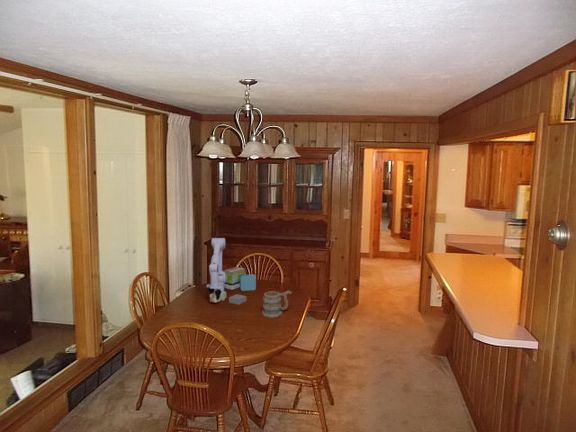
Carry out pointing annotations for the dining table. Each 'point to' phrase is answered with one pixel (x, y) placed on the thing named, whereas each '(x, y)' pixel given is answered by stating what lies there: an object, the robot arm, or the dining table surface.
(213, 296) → the maple cube
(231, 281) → the tea box
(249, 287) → the data package
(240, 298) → the base block
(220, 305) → the dining table surface
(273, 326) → the dining table surface
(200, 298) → the dining table surface
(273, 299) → the tankard
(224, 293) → the sage block
